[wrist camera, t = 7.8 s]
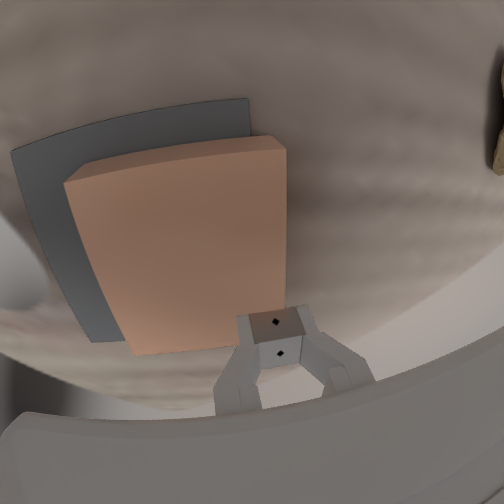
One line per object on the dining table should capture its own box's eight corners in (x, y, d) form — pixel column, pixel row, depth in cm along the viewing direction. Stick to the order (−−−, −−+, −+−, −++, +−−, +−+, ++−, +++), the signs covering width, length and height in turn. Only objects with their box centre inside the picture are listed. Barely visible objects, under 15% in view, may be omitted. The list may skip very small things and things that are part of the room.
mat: (247, 98, 14) (248, 98, 13) (259, 323, 23) (260, 325, 22) (12, 150, 12) (10, 151, 12) (91, 340, 21) (91, 342, 21)
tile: (286, 148, 12) (63, 183, 11) (283, 337, 19) (134, 355, 18) (270, 134, 15) (86, 162, 14) (273, 304, 21) (138, 321, 20)
